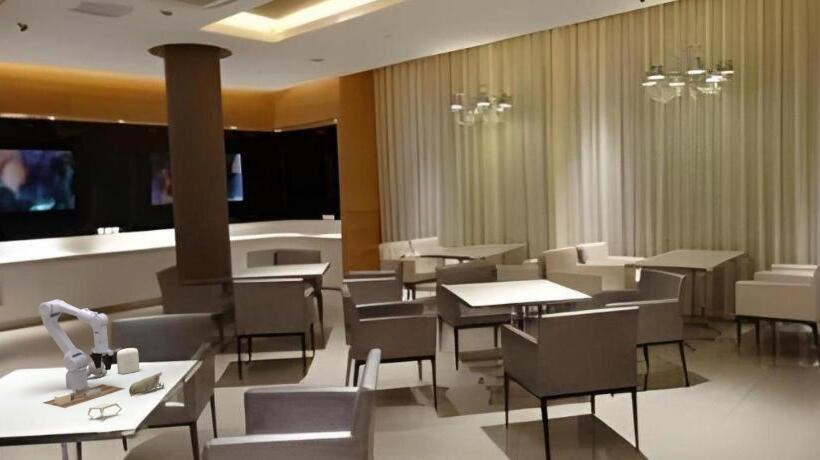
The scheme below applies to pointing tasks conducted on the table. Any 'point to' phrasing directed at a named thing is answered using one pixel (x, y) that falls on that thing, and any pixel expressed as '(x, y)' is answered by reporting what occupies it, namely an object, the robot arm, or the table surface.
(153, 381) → the decorative bird
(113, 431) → the table surface
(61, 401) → the plug
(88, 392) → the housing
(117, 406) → the white arched legged piece
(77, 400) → the base board
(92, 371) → the round bodied animal figurine
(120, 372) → the photo printer
